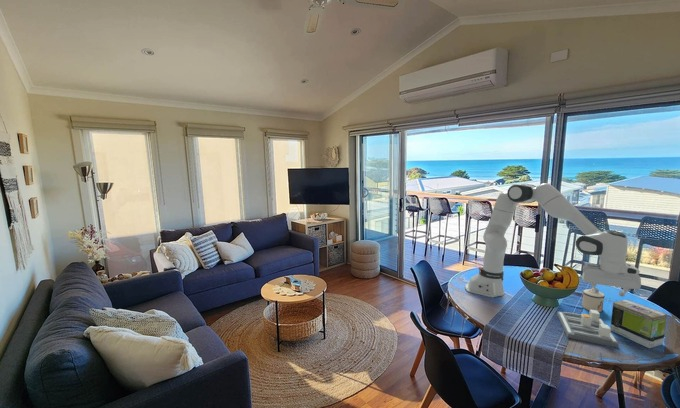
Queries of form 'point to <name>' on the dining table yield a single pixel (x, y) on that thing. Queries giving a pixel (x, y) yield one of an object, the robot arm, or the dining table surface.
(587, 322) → the breaker
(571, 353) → the dining table surface
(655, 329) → the tea box
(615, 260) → the robot arm
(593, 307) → the teacup with lid
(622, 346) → the dining table surface
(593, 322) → the panel
